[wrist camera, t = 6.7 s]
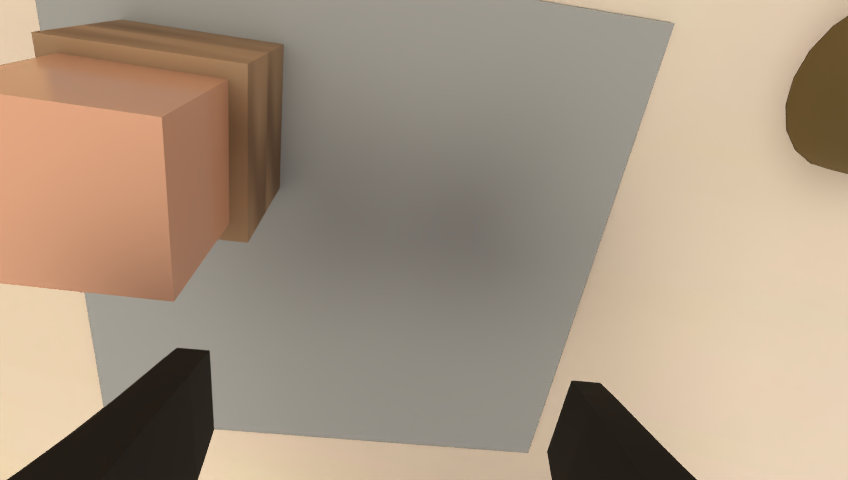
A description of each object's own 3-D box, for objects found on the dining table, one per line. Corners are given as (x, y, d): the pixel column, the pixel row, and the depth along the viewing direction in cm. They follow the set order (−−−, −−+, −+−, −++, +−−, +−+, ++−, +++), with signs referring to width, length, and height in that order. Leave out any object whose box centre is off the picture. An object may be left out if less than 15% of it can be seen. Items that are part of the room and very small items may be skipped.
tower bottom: (279, 188, 19) (265, 212, 17) (137, 170, 18) (105, 193, 16) (283, 44, 17) (267, 52, 15) (121, 19, 16) (82, 25, 14)
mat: (527, 449, 26) (527, 452, 26) (108, 417, 24) (106, 421, 24) (671, 22, 17) (674, 23, 17) (25, -88, 15) (20, -88, 15)
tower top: (265, 212, 17) (247, 242, 15) (105, 193, 16) (64, 222, 14) (267, 52, 15) (247, 64, 13) (82, 25, 14) (31, 31, 12)
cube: (229, 223, 15) (173, 301, 11) (80, 204, 14) (-29, 280, 11) (228, 78, 13) (161, 117, 9) (57, 52, 12) (-81, 82, 9)
